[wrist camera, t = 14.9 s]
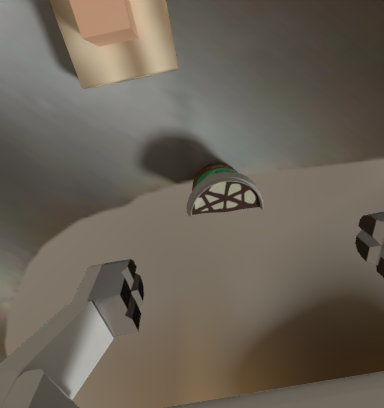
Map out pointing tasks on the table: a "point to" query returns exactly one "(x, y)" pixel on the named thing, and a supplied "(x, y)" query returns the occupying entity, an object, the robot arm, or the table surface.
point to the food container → (222, 191)
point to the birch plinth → (120, 46)
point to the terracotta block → (105, 21)
